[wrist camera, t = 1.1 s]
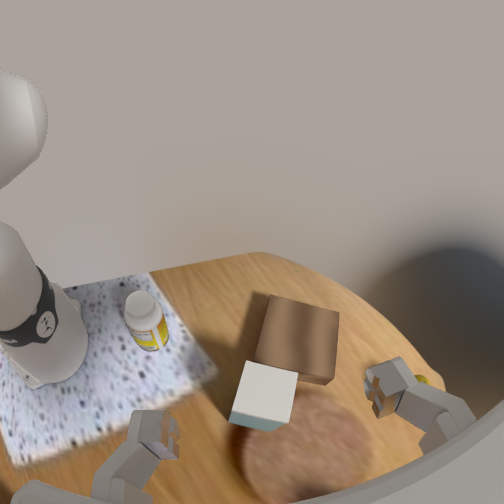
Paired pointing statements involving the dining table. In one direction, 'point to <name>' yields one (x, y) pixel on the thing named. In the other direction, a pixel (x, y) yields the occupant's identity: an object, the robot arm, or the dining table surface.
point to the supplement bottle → (146, 321)
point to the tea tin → (263, 397)
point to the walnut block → (299, 340)
